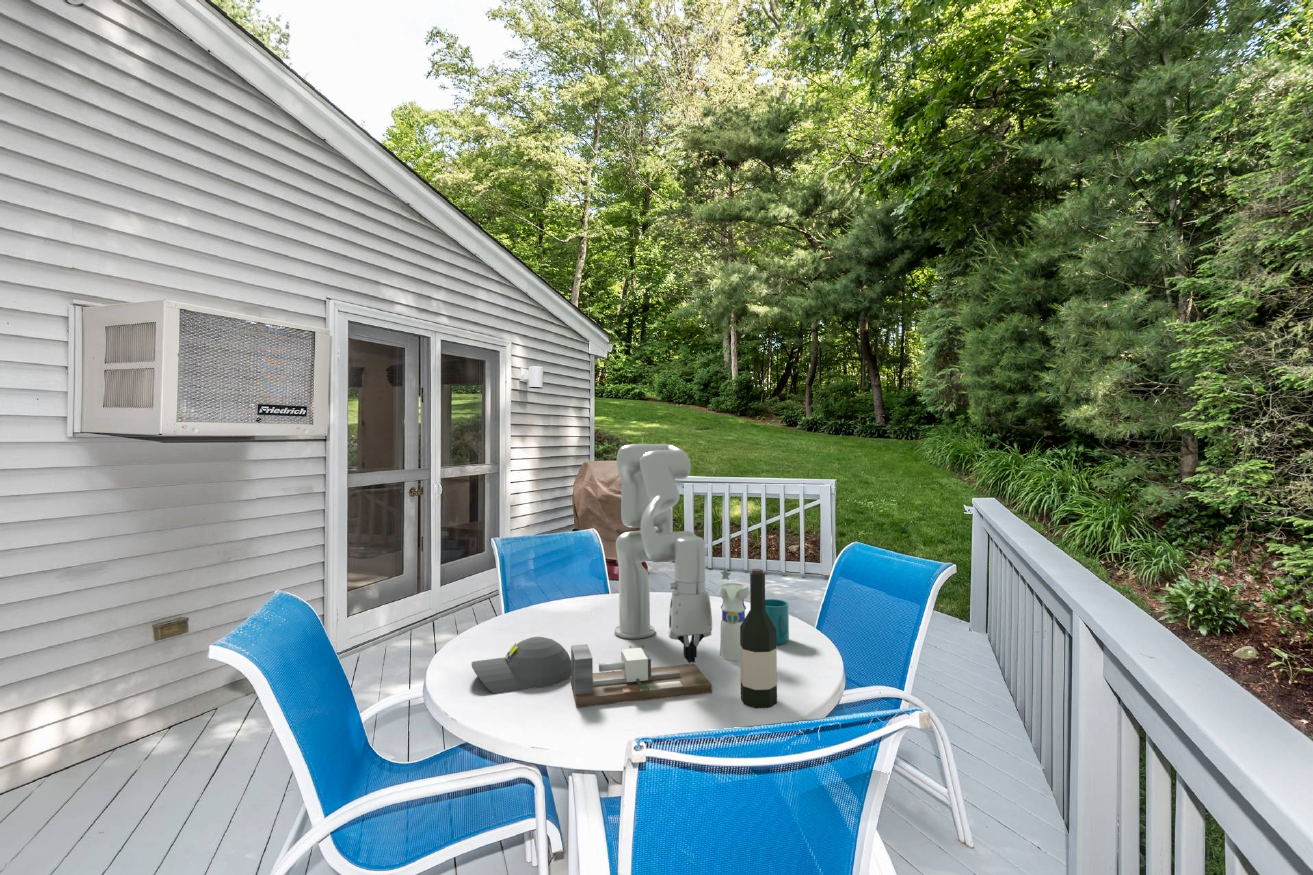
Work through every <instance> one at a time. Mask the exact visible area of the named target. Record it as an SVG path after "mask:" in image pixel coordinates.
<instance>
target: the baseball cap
mask: <svg viewBox="0 0 1313 875" xmlns="http://www.w3.org/2000/svg"><path fill="white" fill-rule="evenodd" d="M471 668H472V670H473V672H474V673H475V674H476V675H477V678H478V679H479V680H480V681H481V682H482V683H483V685H484V686H485V687H486V688H487V689H488V690H489V691H490V692H491V693H493V694H496V695H499V694H507V693H512V692H519V691H526V690H533V689H539V688H540V689H541V688H547V687H552V686H555V685H558V684H561V683H563V682H566V681H567V680H569V679H571V656H570V655H569V653H568V651H567V650H566V649H565V647H564V646H562V645H561V643H559V642H557V641H556V640H554V639H552V638H550V637H549V638H548V637H543V636H533V637H529V638H526V639H523V640H521V641H519V642H517V643H516V642H515V643H514V644H513V645H512V646H511V648H509V650H508V652H507V653H506V654H505V657H504V656H503V657H498V658H490V659H489V658H487V659H481V660H474V661H471Z"/></svg>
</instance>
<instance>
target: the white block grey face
mask: <svg viewBox="0 0 1313 875" xmlns="http://www.w3.org/2000/svg"><path fill="white" fill-rule="evenodd" d="M620 651H621V652H620V654H621V656H620V660H621V661H615V662H614V661H612V662H605V663H603V662H602V663H598V673H600V672H611V671H621V670H622V672H623V674H624V677H625V679H626V681H627V682H634V681H636V682H637V684H638V685H641V682H640V681H644V680H648V676H651V668H652V658H651V657H650V655H649V654H648V652H647V651H646V650H643V649H642V647H637V648H636V647H635V648H634V647H633V648H624V649H623V648H622V649H621V650H620Z"/></svg>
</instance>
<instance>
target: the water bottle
mask: <svg viewBox="0 0 1313 875" xmlns="http://www.w3.org/2000/svg"><path fill="white" fill-rule="evenodd" d="M719 573H720V574H721V575H722V580H725V579H726V580H727V581H730V578H729V577H730V575H731V574H732V573H731V572H729V571H728V570H727V567H725V569H724V570H723V571H720V572H719ZM718 596H720V597H721V599H722V604H721V606H720V609H721V618H722V619H721V622H720V646H719V648H720V650H719V657H720V656H721V657H720V658H722V659H723V658H724V659H723V660H725V661H726V660H727V661H732V660H739V661H740V626H741V624H742V622H743V621H744V619H745V618H746V612H745V611H746V609H747V606H746V605H745V601H744V600H745V599H747V598H748V597H749V596H750V589H749V587H748V586H747V585H746V584H743V583H740V582H739V583H738V582H727V583H723V584H721V585H720V588H719V591H718Z"/></svg>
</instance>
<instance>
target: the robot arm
mask: <svg viewBox="0 0 1313 875" xmlns="http://www.w3.org/2000/svg"><path fill="white" fill-rule="evenodd" d="M616 467H617V471H618V474H619V478H620V482H621V491H620V492H621V495H620V496H621V497H620V498H621V501H620V502H621V503H620V504H621V507H620V508H621V509H620V512H621V513H620V514H621V515H620V516H621V518H620V519H621V522H622V524H623V525H624V526H625V527H626V528H633V529H634V528H636V529H637V528H640V530H635V531H626V532H623V533H621V534H620V535H618V537H617V538H616V541H615V551H616V557H617V565H618V583H619V584H618V593H619V594H618V595H619V596H618V600H619V602H618V603H619V604H618V605H619V607H618V608H619V614H618V615H619V616H618V618H619V621H618V622H619V625H618V626H617V627H615V628H614V635H615V636H617V637H619V638H621V639H622V638H623V639H629V640H630V639H631V640H632V639H633V640H638V639H644V638H648V637H651V636H653V635H654V634H655V632H656V630H655V626H653V625H651V611H650V610H651V607H650V606H651V602H650V600H651V599H650V598H651V597H650V595H651V593H650V590H651V588H650V587H651V586H650V576H649V573H648V571H647V569H646V568H645V567H644V566H643V565H642V563H643V562H644V563H645V562H653V563H667V562H668V563H669V562H674V579H673V582H672V583H669V584H668V588H669V590H673V591H672V594H671V598H670V605H669V615H668V616H669V617H668V618H669V619H668V626H669V627H668V628H669V632H668V637H669V639H671V640H676V641H679V642H680V643H681V644H682V645H683V658H684V659H685V660H686V662H687V664H694V663H696V658H698V646H699V644H700V643H701V641H702V640H703V638H708V637H710V636H712V630H713V618H712V617H713V616H712V605H711V599H710V593H709V591H707V590H706V542H705V540H704V539H703V538H702V537H700V536H697V535H696V534H695V533H694V532H693V531H688V530H683V531H682V530H681V531H672V528H673V527H672V525H673V521H672V520H673V515H672V514H673V512H672V511H673V510H672V508H673V507H674V506H675V505H677V504H678V502H679V500H680V498H681V497H680V496H681V495H680V492H679V489H678V485H677V482H676V480H684V479H686V478H688V477H689V475H690V473H691V467H692V466H691V461H690V458H689V455H688V454H687V453H686V452H685V451H684V450H683V449H681V448H679V447H677V446H675V445H672V444H670V443H669V444H668V443H632V444H626V445H623V446H621V447H620V448H619V449H618V451H617V455H616ZM689 636H690V637H691V638H689Z"/></svg>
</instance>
